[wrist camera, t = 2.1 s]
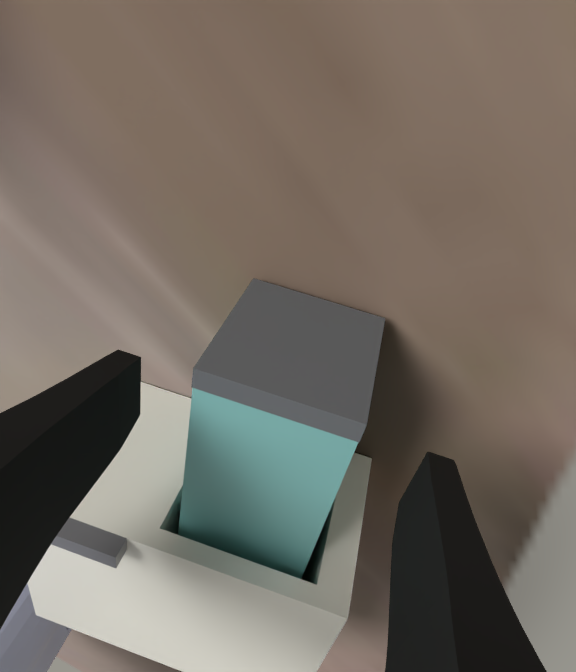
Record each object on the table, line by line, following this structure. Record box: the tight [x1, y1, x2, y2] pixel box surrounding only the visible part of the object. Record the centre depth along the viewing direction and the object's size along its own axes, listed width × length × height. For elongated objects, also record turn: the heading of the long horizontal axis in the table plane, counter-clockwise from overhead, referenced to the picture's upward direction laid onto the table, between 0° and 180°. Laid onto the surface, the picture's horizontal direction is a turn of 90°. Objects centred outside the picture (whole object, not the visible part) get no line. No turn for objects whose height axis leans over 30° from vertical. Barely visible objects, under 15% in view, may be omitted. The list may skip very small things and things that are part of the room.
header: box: [27, 382, 372, 672], centre depth 18 cm, size 8×10×6 cm
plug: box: [178, 278, 385, 579], centre depth 16 cm, size 11×4×4 cm, turn 170°
